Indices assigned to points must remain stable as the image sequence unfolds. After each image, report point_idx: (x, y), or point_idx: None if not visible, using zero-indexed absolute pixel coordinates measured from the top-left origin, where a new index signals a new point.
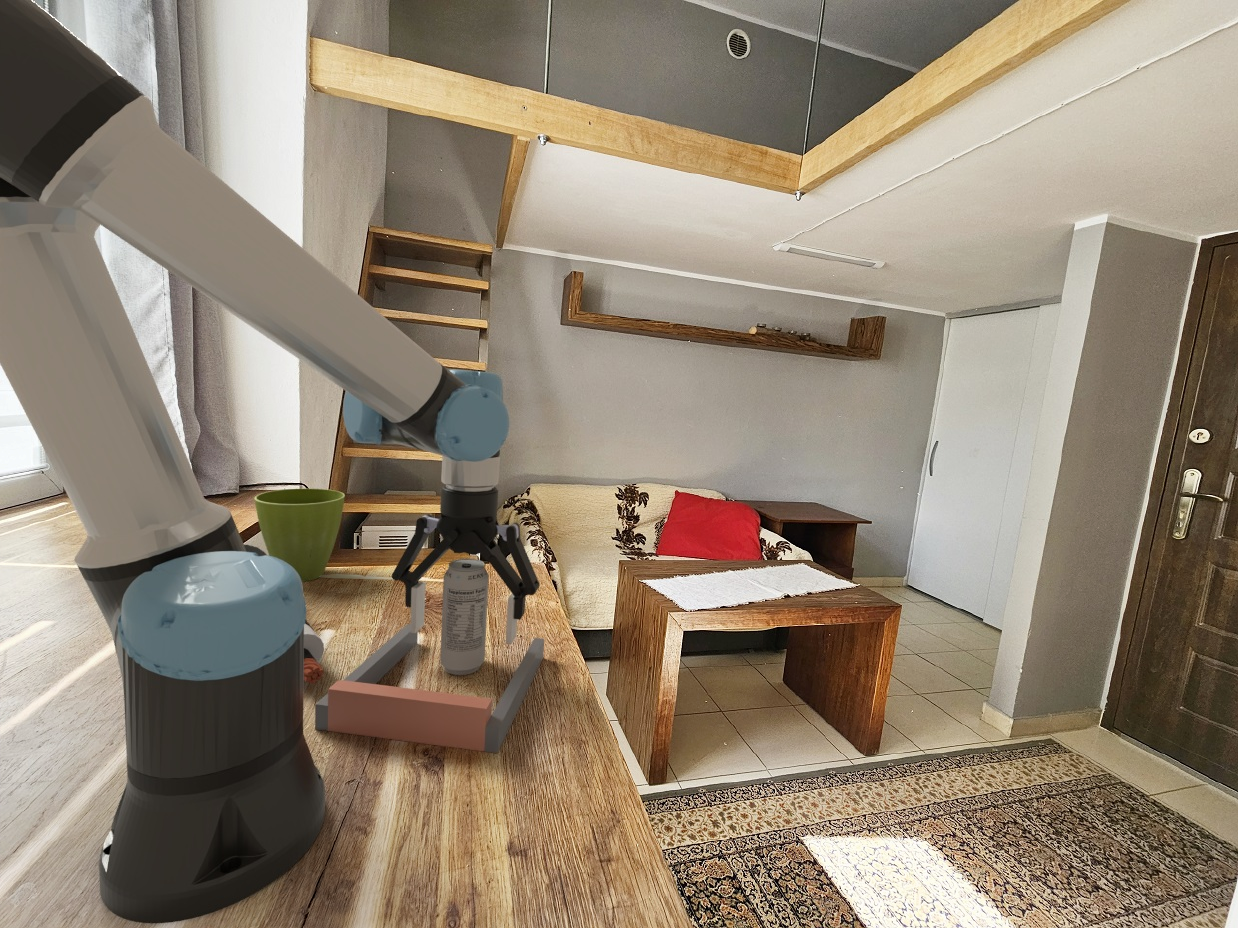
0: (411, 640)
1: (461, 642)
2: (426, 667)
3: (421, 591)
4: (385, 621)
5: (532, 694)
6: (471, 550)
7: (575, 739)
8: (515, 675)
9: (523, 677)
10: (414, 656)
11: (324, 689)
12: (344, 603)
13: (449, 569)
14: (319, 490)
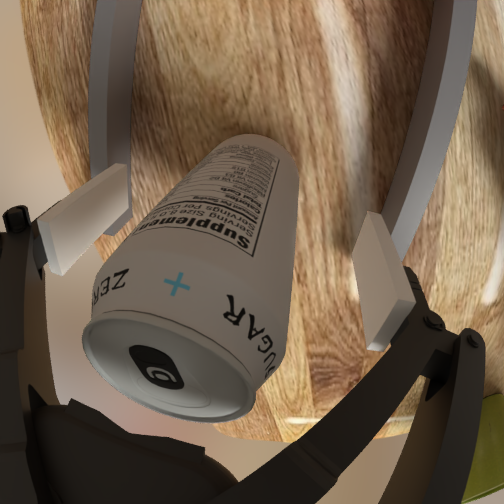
0: None
1: (229, 151)
2: (327, 170)
3: (375, 309)
4: None
5: None
6: (81, 429)
7: (47, 8)
8: (104, 78)
9: (91, 75)
10: (359, 215)
11: (486, 106)
12: None
13: (243, 354)
14: (473, 499)
